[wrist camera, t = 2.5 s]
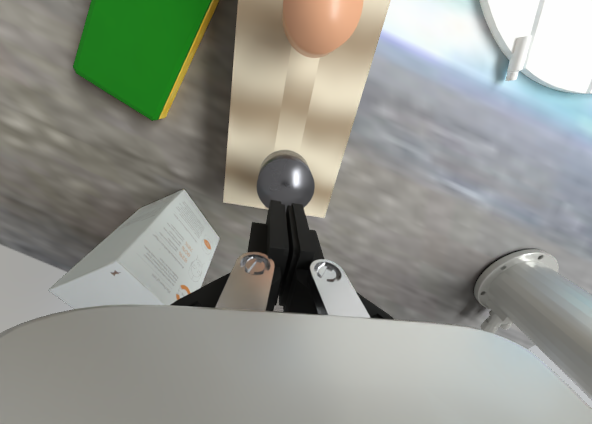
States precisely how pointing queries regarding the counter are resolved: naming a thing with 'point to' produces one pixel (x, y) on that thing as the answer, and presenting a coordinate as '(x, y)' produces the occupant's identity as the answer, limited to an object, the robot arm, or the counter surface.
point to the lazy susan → (545, 40)
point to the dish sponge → (142, 49)
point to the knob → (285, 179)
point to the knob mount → (293, 99)
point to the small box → (145, 258)
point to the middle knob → (320, 24)
